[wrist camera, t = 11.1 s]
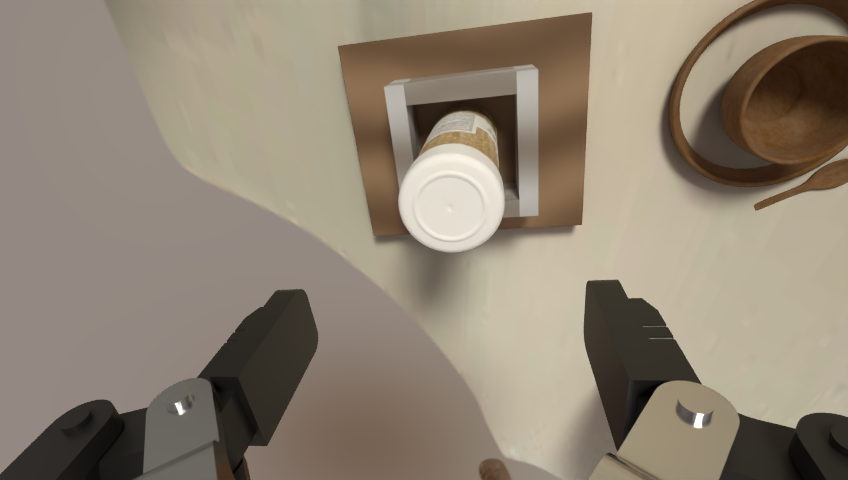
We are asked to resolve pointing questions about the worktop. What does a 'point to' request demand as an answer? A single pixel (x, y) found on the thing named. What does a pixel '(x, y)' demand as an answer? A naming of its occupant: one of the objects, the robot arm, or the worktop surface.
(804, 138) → the place setting
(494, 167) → the sprinkles bottle
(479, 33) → the socket
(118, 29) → the worktop surface
